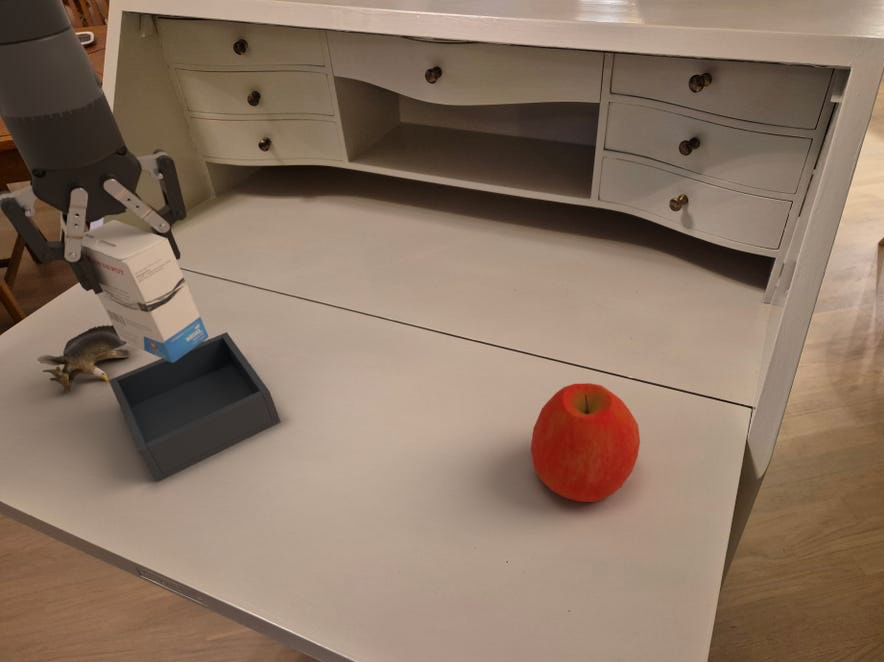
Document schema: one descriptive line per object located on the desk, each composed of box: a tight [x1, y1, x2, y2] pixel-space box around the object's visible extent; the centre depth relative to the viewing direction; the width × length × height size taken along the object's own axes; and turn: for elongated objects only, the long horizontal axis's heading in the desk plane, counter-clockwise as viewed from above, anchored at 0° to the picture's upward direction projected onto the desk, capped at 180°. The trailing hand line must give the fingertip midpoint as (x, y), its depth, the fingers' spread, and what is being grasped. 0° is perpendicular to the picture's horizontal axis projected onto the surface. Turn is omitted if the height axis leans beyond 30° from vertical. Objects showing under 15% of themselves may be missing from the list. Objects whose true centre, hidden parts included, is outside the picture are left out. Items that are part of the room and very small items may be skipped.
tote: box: [108, 331, 282, 483], centre depth 71 cm, size 14×14×5 cm
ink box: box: [81, 219, 209, 363], centre depth 62 cm, size 8×5×12 cm, turn 59°
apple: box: [530, 382, 641, 503], centre depth 60 cm, size 10×10×10 cm
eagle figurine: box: [36, 324, 131, 394], centre depth 78 cm, size 8×7×9 cm
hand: (135, 276), depth 61 cm, fingers closed on ink box, 6 cm apart
